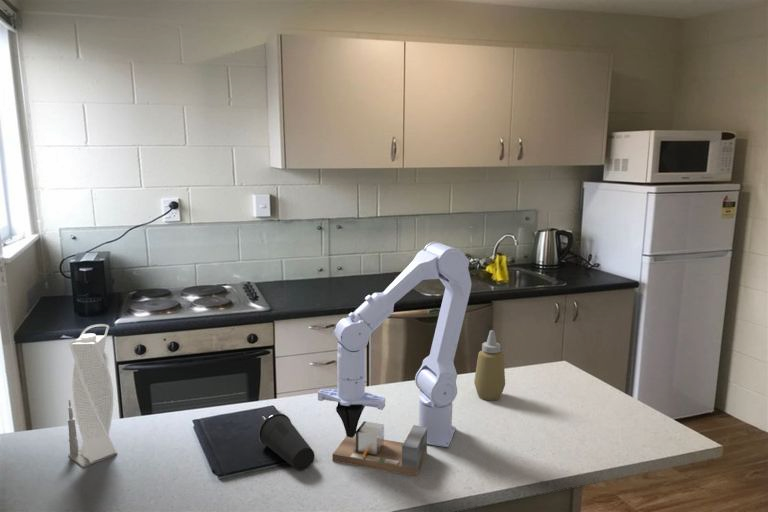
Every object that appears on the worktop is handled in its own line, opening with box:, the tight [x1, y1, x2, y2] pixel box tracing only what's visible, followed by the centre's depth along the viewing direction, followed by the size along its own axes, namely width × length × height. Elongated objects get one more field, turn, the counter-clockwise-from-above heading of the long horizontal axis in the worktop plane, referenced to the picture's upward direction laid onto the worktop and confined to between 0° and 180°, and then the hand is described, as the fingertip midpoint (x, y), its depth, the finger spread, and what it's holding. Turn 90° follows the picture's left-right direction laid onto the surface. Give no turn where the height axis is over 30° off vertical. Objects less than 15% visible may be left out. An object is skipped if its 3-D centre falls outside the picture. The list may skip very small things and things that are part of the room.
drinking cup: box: [258, 412, 315, 472], centre depth 123 cm, size 8×8×20 cm
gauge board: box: [331, 424, 428, 477], centre depth 121 cm, size 9×18×6 cm, turn 73°
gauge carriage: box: [355, 420, 385, 457], centre depth 121 cm, size 7×5×4 cm, turn 163°
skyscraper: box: [67, 323, 118, 469], centre depth 119 cm, size 8×8×28 cm
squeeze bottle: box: [473, 329, 506, 401], centre depth 151 cm, size 8×8×18 cm
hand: (351, 435), depth 123 cm, fingers closed
